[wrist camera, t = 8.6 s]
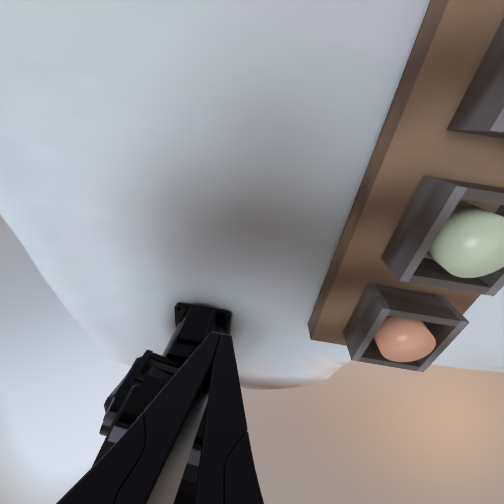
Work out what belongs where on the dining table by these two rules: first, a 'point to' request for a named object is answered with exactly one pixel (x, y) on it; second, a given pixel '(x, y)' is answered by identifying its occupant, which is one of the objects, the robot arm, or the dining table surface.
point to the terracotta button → (404, 339)
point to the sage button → (470, 242)
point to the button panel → (423, 188)
